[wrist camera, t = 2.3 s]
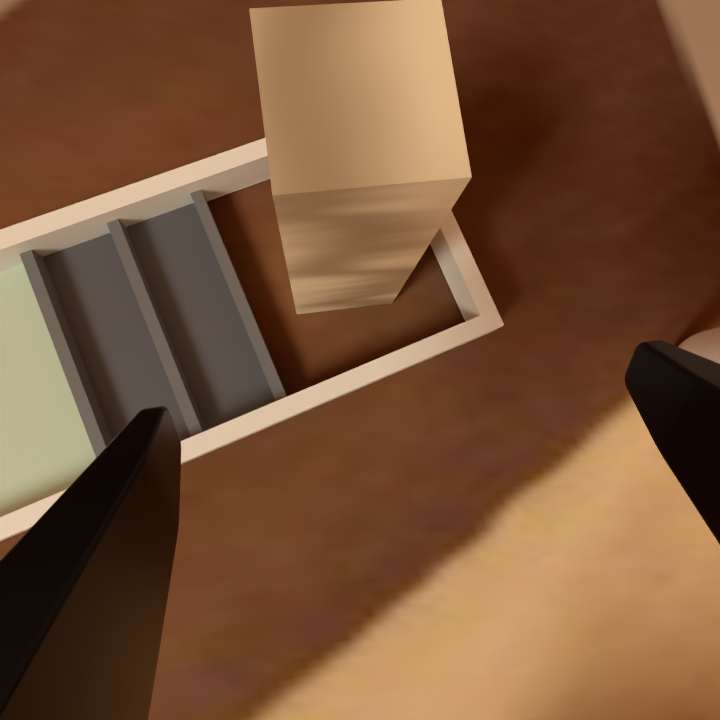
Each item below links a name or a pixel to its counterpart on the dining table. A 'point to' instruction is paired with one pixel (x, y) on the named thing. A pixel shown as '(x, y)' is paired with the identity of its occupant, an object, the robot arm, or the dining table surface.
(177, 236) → the box
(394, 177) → the maple block
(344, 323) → the dining table surface
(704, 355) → the drinking glass
